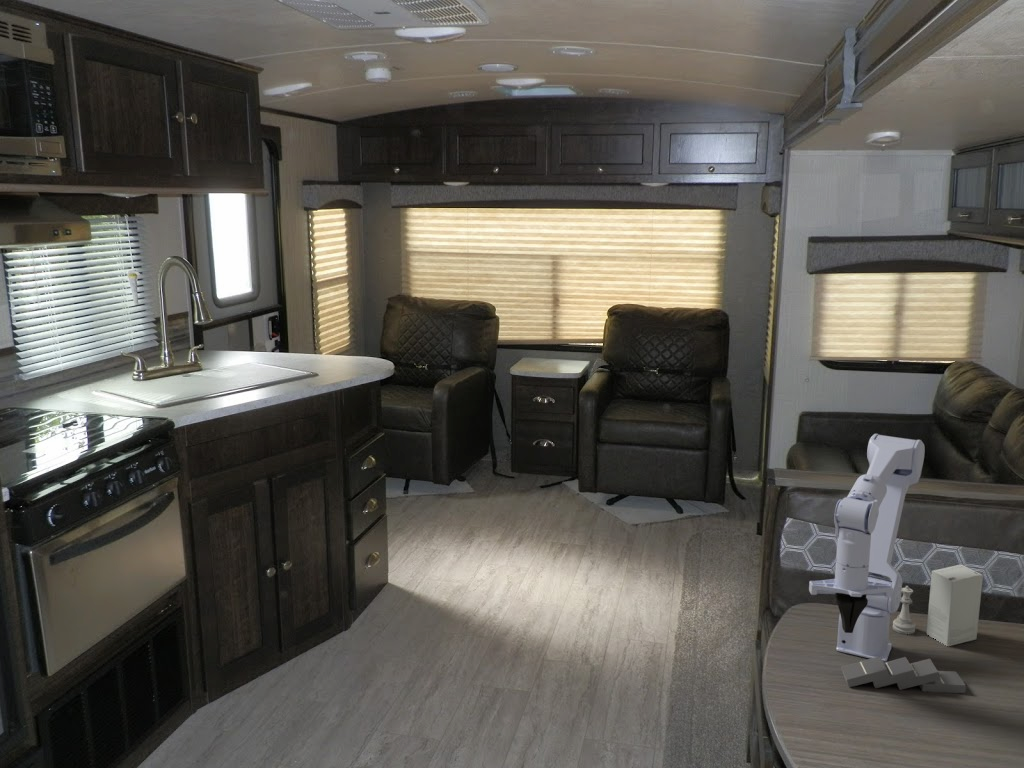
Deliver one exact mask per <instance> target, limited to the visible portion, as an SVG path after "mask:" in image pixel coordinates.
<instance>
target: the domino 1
mask: <svg viewBox="0 0 1024 768" xmlns="http://www.w3.org/2000/svg"><path fill="white" fill-rule="evenodd" d="M884 663H885V662H883V661H882V659H881V657H880V656H879V657H875V658H871V659H870V658H866V659H864V660H861V661H857V662H853V663H849V664H845V665H841V666H840V669H841V671H842V675H843V677H844V679H845V682H846V684H847V686H848V688H853V687H856V686H860V685H863V684H868V683H872V681H876V680H880V679H884V678H888V677H889V674H888V671H887V669H886V667H885V665H884Z"/></svg>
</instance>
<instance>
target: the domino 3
mask: <svg viewBox="0 0 1024 768" xmlns="http://www.w3.org/2000/svg"><path fill="white" fill-rule="evenodd" d="M910 665H911V667H912V668H913V670H914V673H915V676H916V678H913V679H909V680H906V681H902V682H898V683H895V684H896V686H897V688H898V689H899V691H901V690H906V689H909V688H913V687H917V686H918V687H919V685H922V684H925V683H929V682H933V681H937V680H941V678H940V675H939V672H938V671H939V670H938V669H937V668H936V666H935V664H934V663H933V661H932V659H931V658H927V659H922V660H918V661H915V662H911V663H910Z"/></svg>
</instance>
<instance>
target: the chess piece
mask: <svg viewBox="0 0 1024 768" xmlns="http://www.w3.org/2000/svg"><path fill="white" fill-rule="evenodd" d="M901 589H902V593H901V594H902V595H901V601H900V603H902V605H901V609H900V610H901V611H900V613H899V614H898V615H897V618H895V619H894V620H893V621H892V630H893V631H894V632H896V633H898V634H901V635H907V634H908V635H913V634H914V633H915V632H916V624H915V622H914V621H913V617H912V616H911V615H910V614H911V613H910V605H911V604H912V603H913V599H911V595H912V594H913V593H914V590H913V589H912V588H910V587H909V585H905V587H902V588H901Z"/></svg>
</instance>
